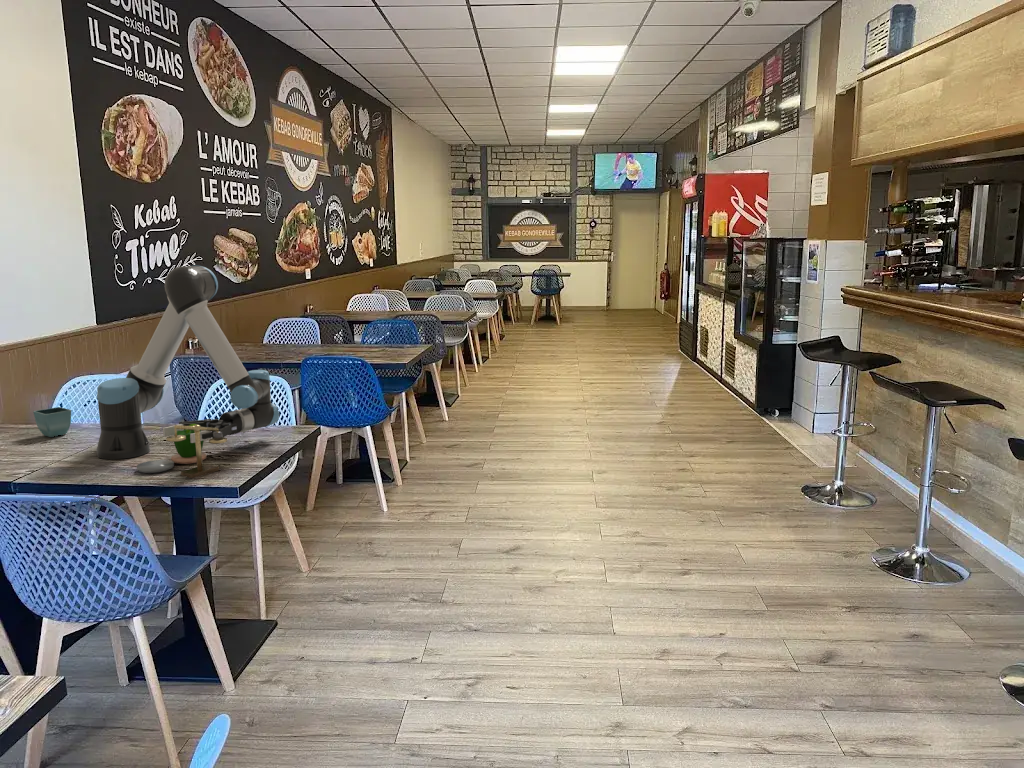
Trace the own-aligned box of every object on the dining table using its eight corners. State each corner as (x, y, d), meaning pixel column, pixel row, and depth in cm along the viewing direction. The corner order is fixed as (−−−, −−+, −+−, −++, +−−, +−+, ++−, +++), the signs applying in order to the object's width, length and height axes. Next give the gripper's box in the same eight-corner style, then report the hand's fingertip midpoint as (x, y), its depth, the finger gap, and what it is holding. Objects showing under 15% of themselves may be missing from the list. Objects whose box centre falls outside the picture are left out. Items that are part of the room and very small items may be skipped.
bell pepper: (170, 459, 226) (167, 427, 224) (182, 452, 234) (179, 421, 232) (197, 459, 226) (195, 427, 224) (208, 452, 234) (206, 421, 232)
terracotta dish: (164, 462, 229) (164, 457, 228) (193, 454, 237) (192, 449, 237) (184, 467, 224) (184, 462, 223) (213, 459, 232) (212, 454, 232)
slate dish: (130, 471, 220) (129, 465, 219) (161, 462, 228) (161, 457, 228) (150, 476, 214) (149, 471, 214) (181, 468, 223) (181, 463, 222)
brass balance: (166, 479, 212) (161, 425, 209) (221, 464, 227) (218, 413, 224) (176, 482, 209) (172, 428, 206) (232, 466, 224) (229, 415, 222)
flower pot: (74, 434, 262) (72, 409, 260) (48, 439, 254) (45, 414, 253) (61, 431, 266) (58, 406, 265) (35, 436, 259) (32, 411, 257)
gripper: (262, 438, 238) (204, 453, 220) (212, 428, 251) (153, 441, 233) (260, 415, 236) (202, 428, 219) (211, 406, 249) (151, 418, 232)
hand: (177, 435), depth 226 cm, fingers open, 13 cm apart
